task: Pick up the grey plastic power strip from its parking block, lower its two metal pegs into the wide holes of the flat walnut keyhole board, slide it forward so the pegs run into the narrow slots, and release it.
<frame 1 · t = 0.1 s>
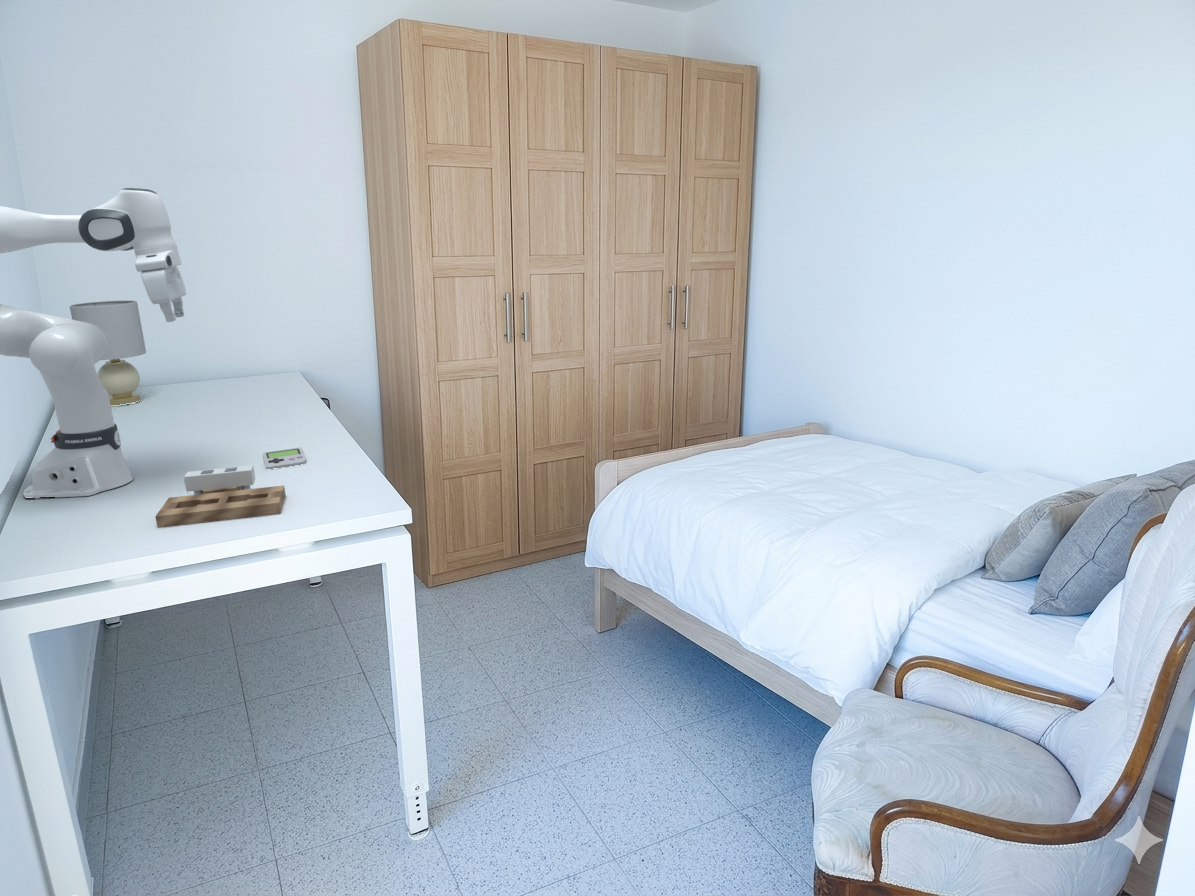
hand: (176, 319, 188), 39 cm above the table, tool pointing down, fingers open, 8 cm apart
lamp: (123, 403, 282), on the table
handheld gaming console: (285, 462, 209), on the table
power strip: (221, 485, 181), point 2 cm above the table, touching parking block
parking block: (223, 495, 182), on the table
keyhole board: (224, 510, 172), on the table
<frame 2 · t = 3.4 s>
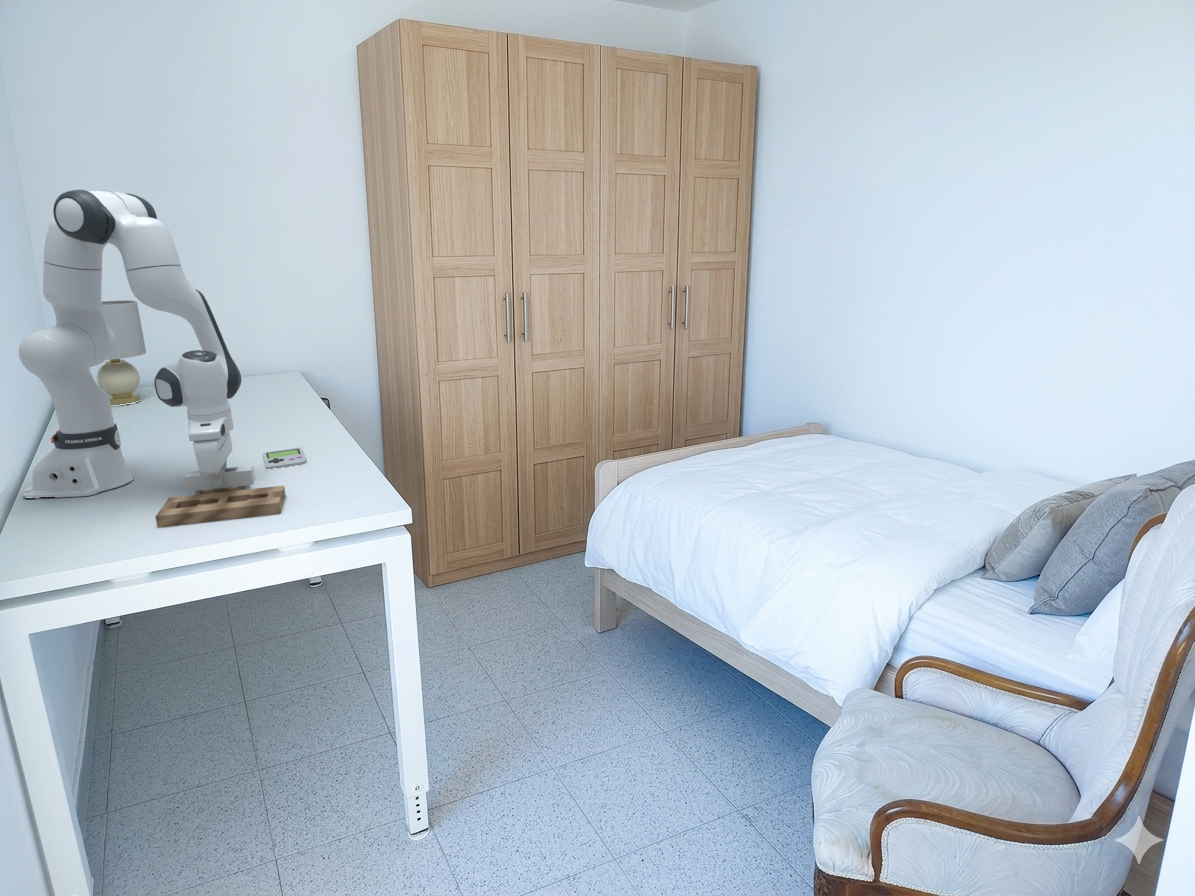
hand: (221, 481, 181), 3 cm above the table, tool pointing down, fingers closed on power strip, 4 cm apart
power strip: (221, 485, 181), point 2 cm above the table, touching gripper, parking block
everything else where it was.
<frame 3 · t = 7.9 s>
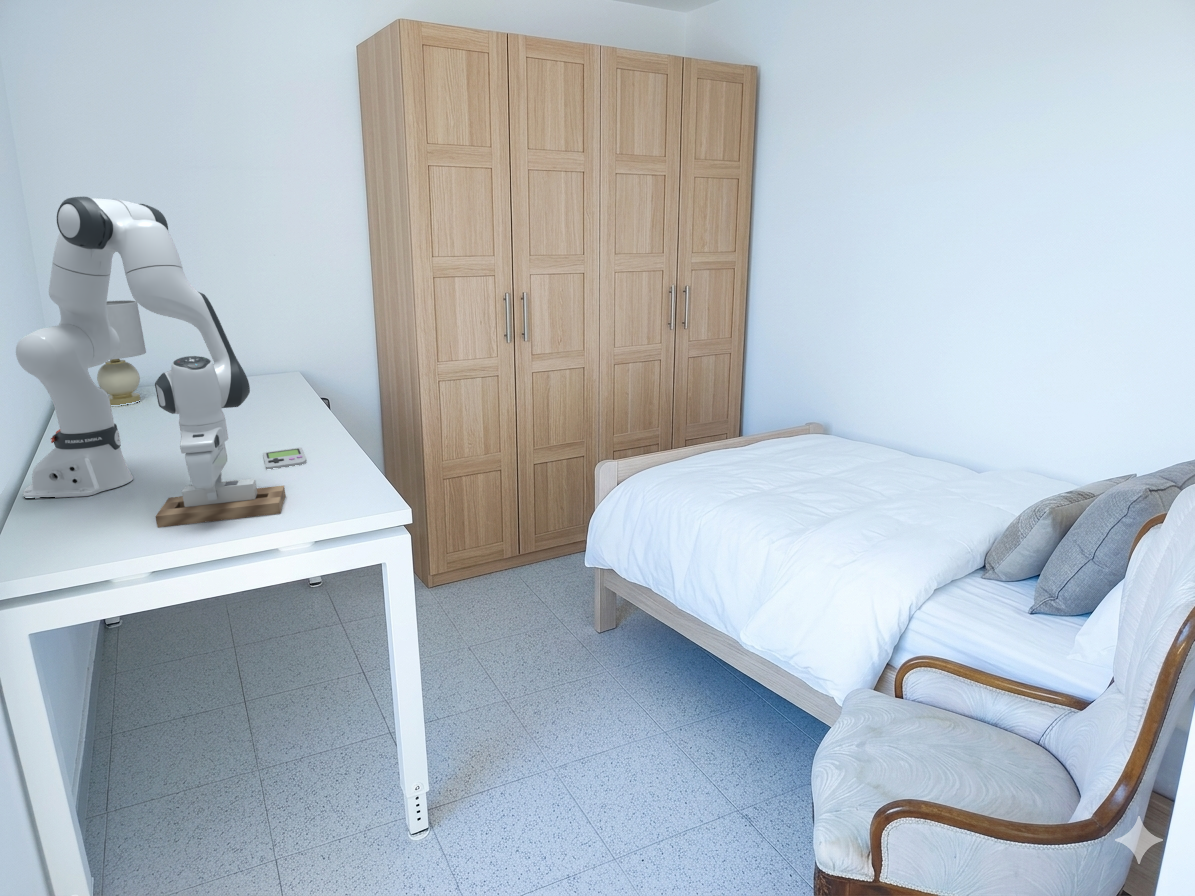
hand: (215, 495, 171), 4 cm above the table, tool pointing down, fingers closed on power strip, 4 cm apart
power strip: (221, 500, 172), point 3 cm above the table, touching gripper
everything else where it was.
when the fingers open (4 cm above the table, at t = 9.6 s): power strip stays where it is, resting on keyhole board.
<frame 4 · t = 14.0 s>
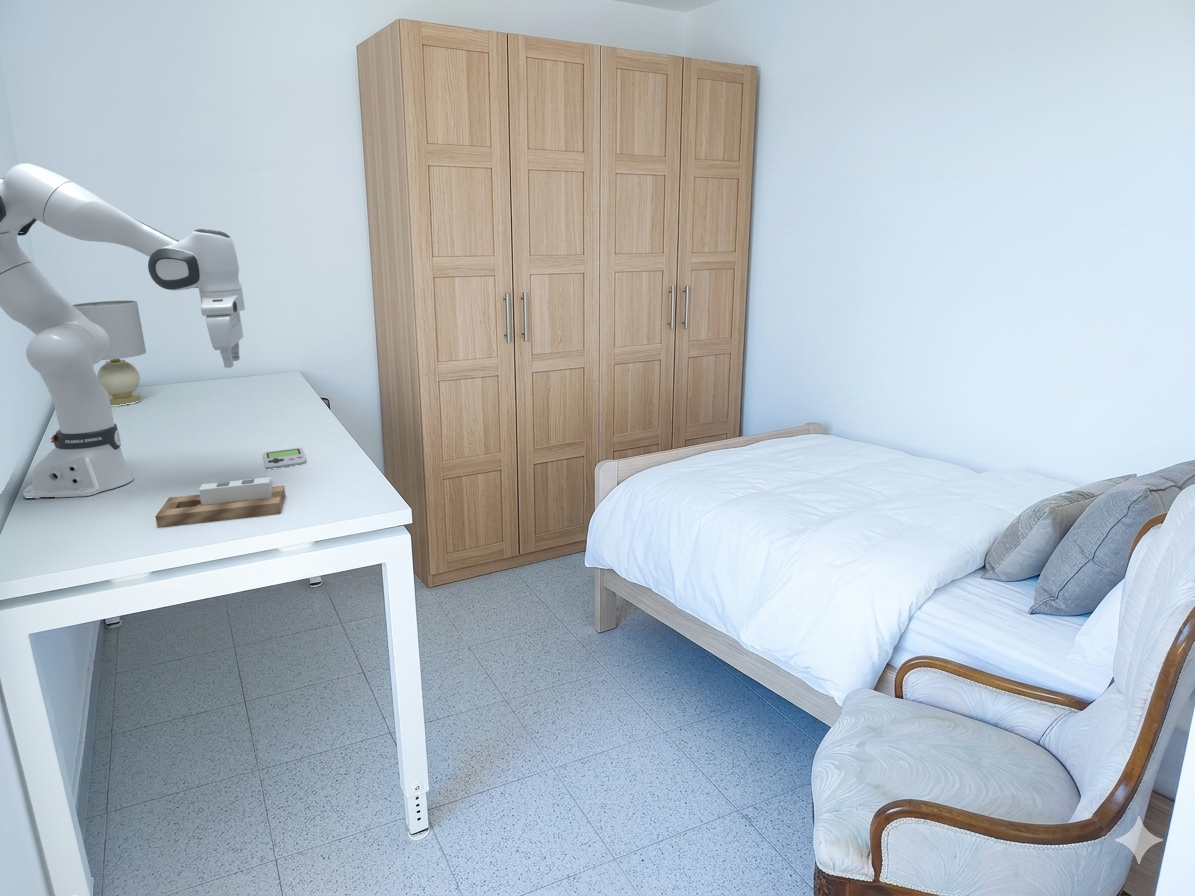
hand: (232, 363, 183), 29 cm above the table, tool pointing down, fingers open, 8 cm apart
power strip: (238, 498, 173), point 2 cm above the table, touching keyhole board
everything else where it was.
at the end: power strip 0.7 cm from the target spot on the keyhole board, point 2.5 cm above the keyhole board's base; power strip point 2.5 cm above the table; the gripper is holding nothing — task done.
